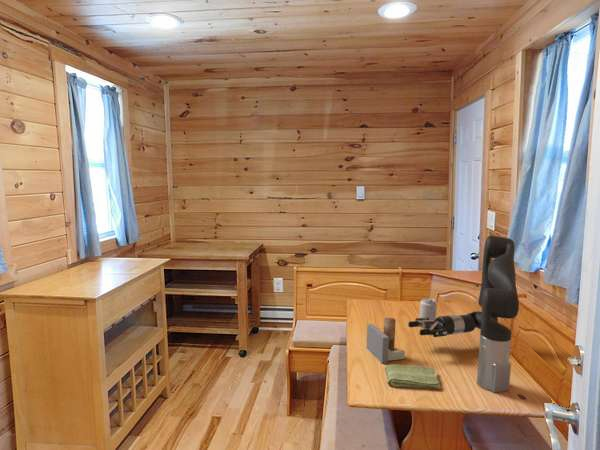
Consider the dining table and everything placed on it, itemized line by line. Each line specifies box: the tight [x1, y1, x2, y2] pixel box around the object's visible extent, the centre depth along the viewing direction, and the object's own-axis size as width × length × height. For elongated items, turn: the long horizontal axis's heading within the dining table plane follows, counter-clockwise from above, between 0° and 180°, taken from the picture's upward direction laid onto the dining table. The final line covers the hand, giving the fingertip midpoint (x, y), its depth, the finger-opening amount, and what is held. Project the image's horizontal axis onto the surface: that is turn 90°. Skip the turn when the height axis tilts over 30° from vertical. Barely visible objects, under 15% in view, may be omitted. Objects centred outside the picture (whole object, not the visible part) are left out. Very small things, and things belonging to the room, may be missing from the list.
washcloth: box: [384, 363, 441, 390], centre depth 142 cm, size 13×18×3 cm
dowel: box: [382, 317, 397, 351], centre depth 161 cm, size 4×4×14 cm
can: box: [418, 297, 438, 327], centre depth 194 cm, size 8×8×12 cm
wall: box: [366, 323, 389, 364], centre depth 160 cm, size 14×2×10 cm, turn 15°
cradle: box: [388, 349, 406, 362], centre depth 162 cm, size 12×7×4 cm, turn 15°
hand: (414, 328), depth 164 cm, fingers open, 8 cm apart
